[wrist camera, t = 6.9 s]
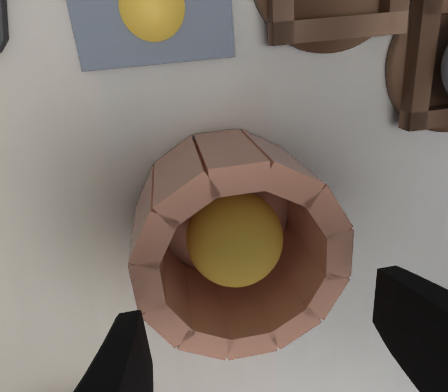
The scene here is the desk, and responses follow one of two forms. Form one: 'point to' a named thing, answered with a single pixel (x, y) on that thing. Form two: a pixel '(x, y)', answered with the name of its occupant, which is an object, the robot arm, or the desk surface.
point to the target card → (150, 31)
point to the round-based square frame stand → (331, 22)
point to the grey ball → (445, 69)
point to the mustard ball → (235, 240)
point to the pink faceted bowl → (248, 295)
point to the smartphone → (3, 25)
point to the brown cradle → (420, 68)
